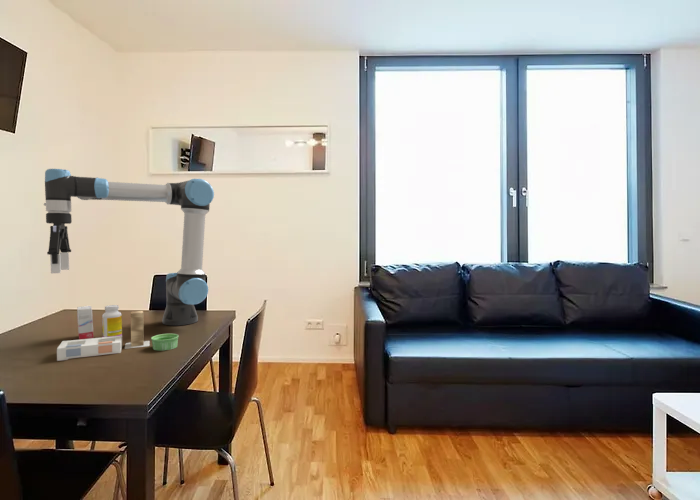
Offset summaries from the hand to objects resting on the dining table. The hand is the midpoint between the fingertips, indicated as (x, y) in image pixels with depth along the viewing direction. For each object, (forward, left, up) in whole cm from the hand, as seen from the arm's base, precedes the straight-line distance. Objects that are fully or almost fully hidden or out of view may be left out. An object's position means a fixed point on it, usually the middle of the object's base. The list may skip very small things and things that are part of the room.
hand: (60, 271), depth 149 cm
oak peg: (-25, +11, -27) cm, 38 cm away
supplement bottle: (-16, -4, -28) cm, 32 cm away
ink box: (-6, -10, -28) cm, 30 cm away
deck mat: (-25, +11, -27) cm, 38 cm away
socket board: (-11, +15, -27) cm, 33 cm away
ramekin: (-34, +19, -28) cm, 48 cm away
